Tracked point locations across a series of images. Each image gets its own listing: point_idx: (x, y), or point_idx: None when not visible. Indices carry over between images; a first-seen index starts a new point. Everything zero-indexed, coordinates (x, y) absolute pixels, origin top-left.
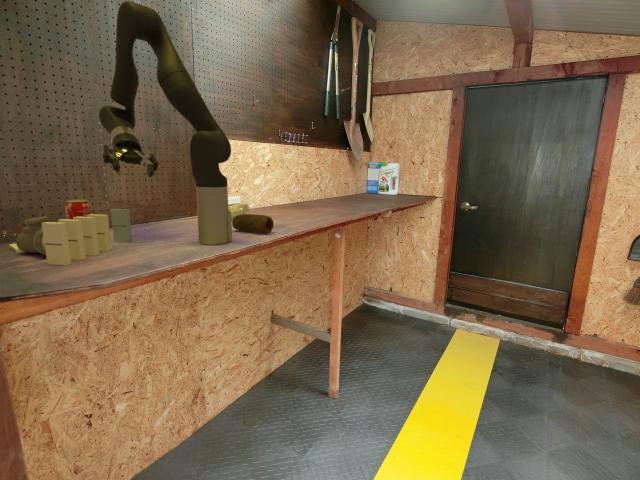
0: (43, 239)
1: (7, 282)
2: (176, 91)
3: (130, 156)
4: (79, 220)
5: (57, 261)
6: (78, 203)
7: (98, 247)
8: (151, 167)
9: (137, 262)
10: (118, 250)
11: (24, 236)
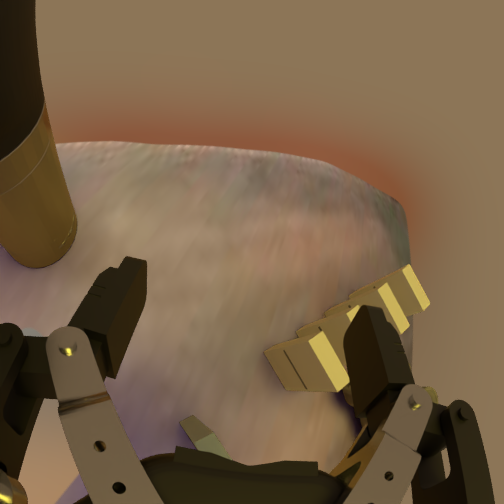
0: None
1: (409, 259)
2: None
3: (267, 477)
4: (379, 287)
5: None
6: None
7: (303, 328)
8: (105, 291)
9: (263, 209)
10: (251, 339)
11: None
